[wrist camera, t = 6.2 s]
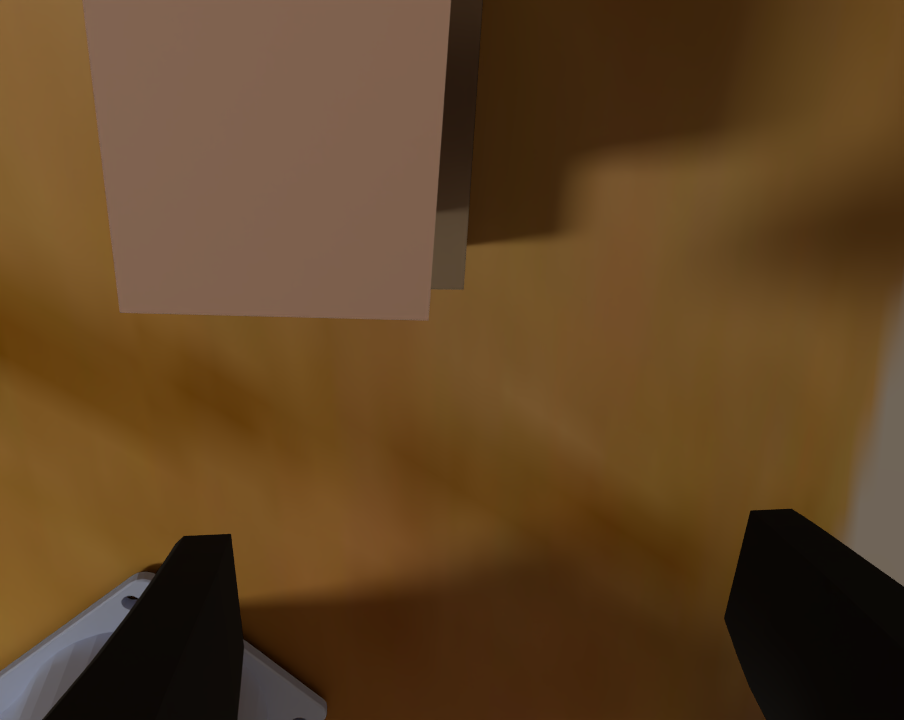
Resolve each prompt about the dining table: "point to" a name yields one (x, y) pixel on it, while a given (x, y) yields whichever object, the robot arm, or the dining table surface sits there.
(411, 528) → the dining table surface
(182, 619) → the robot arm
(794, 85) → the dining table surface
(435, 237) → the walnut slab
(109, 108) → the terracotta cube
